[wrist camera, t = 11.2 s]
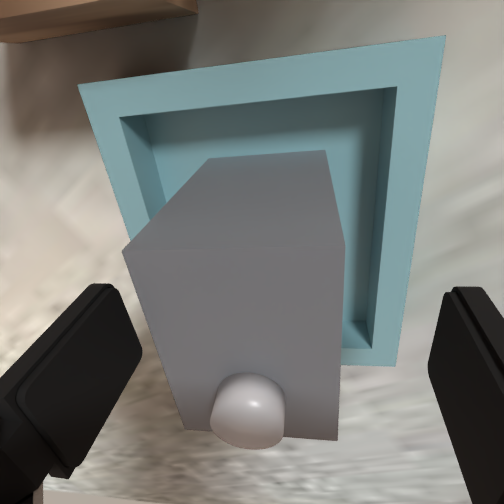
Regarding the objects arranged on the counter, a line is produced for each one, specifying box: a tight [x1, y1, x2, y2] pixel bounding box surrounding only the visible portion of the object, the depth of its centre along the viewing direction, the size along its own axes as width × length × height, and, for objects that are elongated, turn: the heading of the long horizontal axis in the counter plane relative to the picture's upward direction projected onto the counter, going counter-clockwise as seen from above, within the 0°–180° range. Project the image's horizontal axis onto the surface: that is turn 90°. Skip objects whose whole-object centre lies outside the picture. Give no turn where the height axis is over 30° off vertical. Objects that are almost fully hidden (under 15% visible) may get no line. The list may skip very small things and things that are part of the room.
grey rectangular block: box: [122, 150, 346, 449], centre depth 12 cm, size 5×7×9 cm
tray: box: [77, 35, 446, 367], centre depth 15 cm, size 12×14×3 cm
